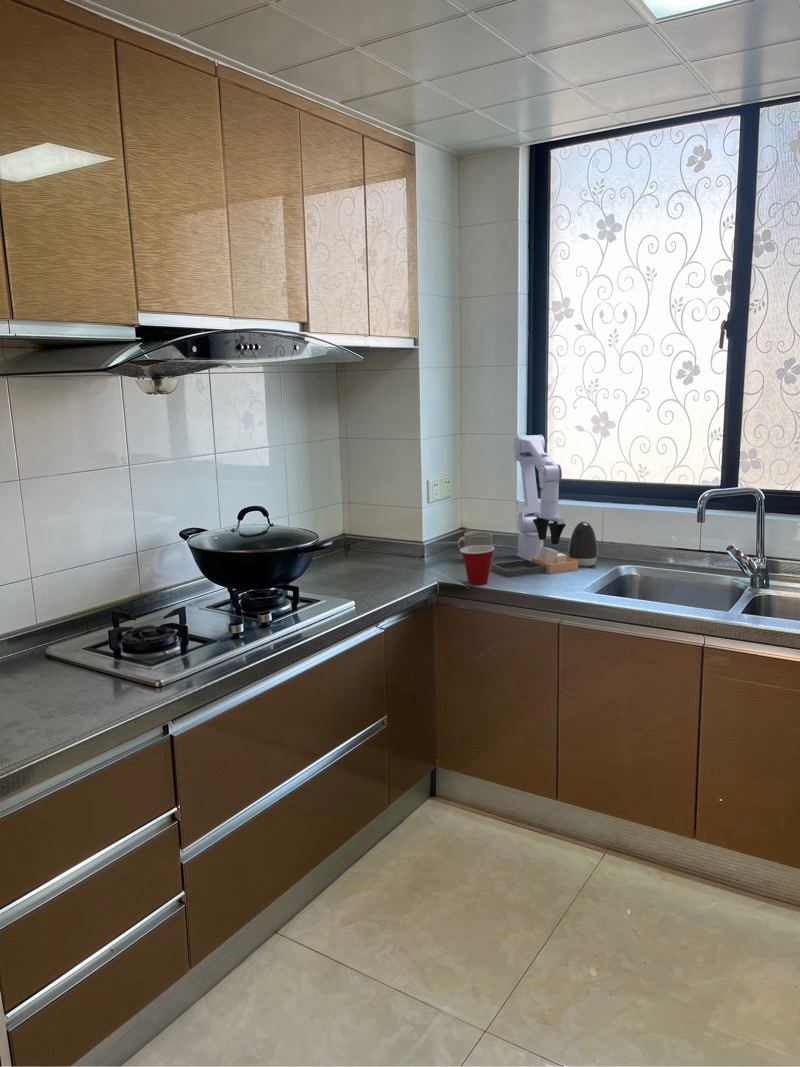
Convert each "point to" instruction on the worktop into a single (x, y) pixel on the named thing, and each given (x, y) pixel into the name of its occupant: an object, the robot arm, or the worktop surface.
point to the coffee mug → (476, 539)
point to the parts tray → (517, 568)
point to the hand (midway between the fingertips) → (548, 541)
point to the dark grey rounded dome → (583, 545)
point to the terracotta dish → (558, 565)
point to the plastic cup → (477, 563)
